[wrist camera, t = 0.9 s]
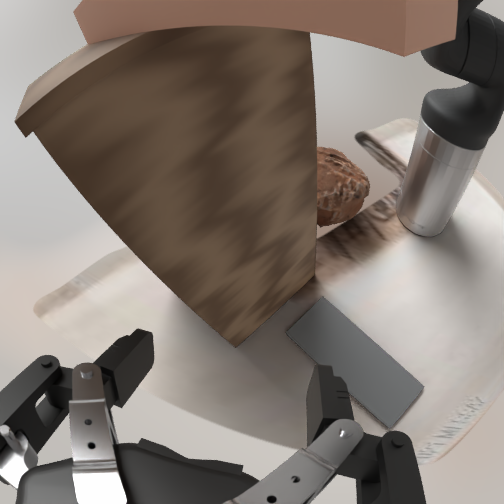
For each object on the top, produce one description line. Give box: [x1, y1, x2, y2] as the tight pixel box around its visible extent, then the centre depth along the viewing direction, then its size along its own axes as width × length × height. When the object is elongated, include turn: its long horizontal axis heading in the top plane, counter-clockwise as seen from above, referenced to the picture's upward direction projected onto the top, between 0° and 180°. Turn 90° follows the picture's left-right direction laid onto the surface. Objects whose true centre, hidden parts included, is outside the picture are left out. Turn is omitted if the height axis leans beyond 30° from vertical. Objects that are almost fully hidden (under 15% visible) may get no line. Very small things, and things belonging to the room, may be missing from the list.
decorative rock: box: [317, 147, 370, 227], centre depth 38 cm, size 13×11×10 cm
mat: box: [286, 296, 424, 428], centre depth 29 cm, size 6×18×1 cm, turn 42°
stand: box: [15, 26, 317, 348], centre depth 24 cm, size 15×15×32 cm
